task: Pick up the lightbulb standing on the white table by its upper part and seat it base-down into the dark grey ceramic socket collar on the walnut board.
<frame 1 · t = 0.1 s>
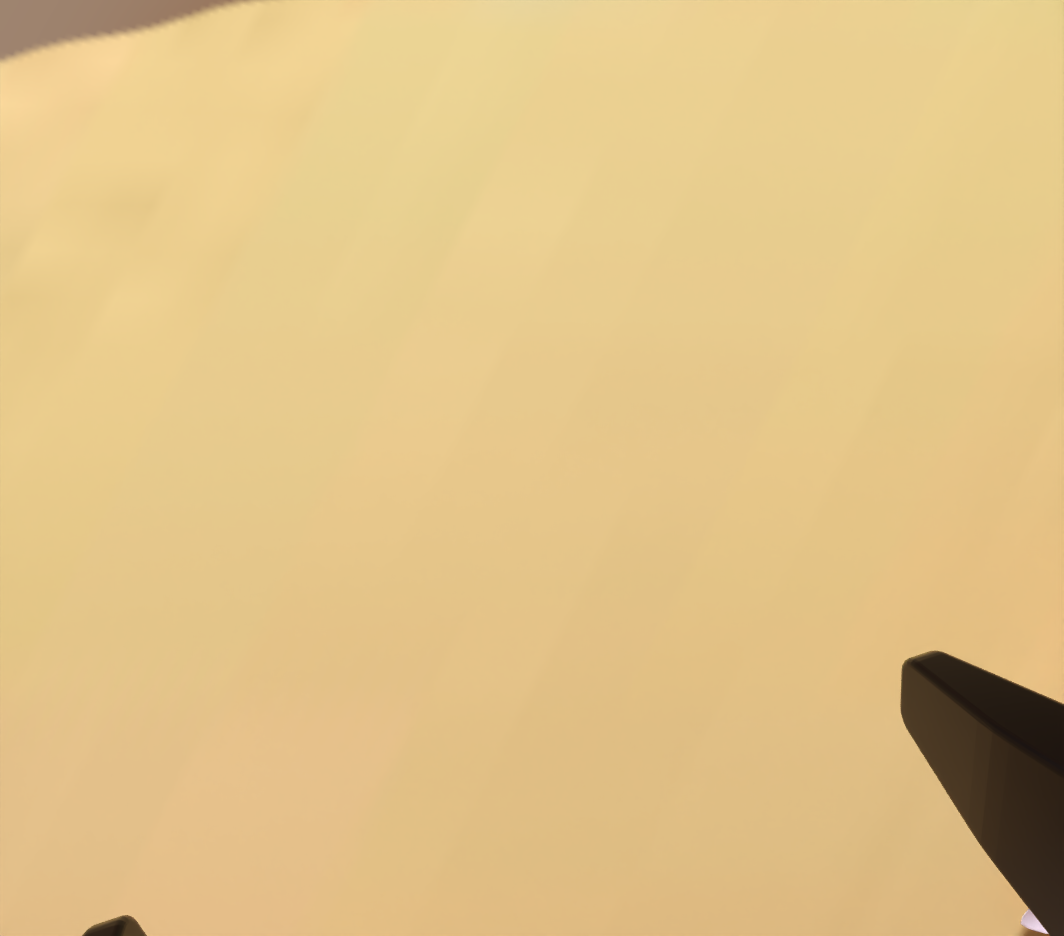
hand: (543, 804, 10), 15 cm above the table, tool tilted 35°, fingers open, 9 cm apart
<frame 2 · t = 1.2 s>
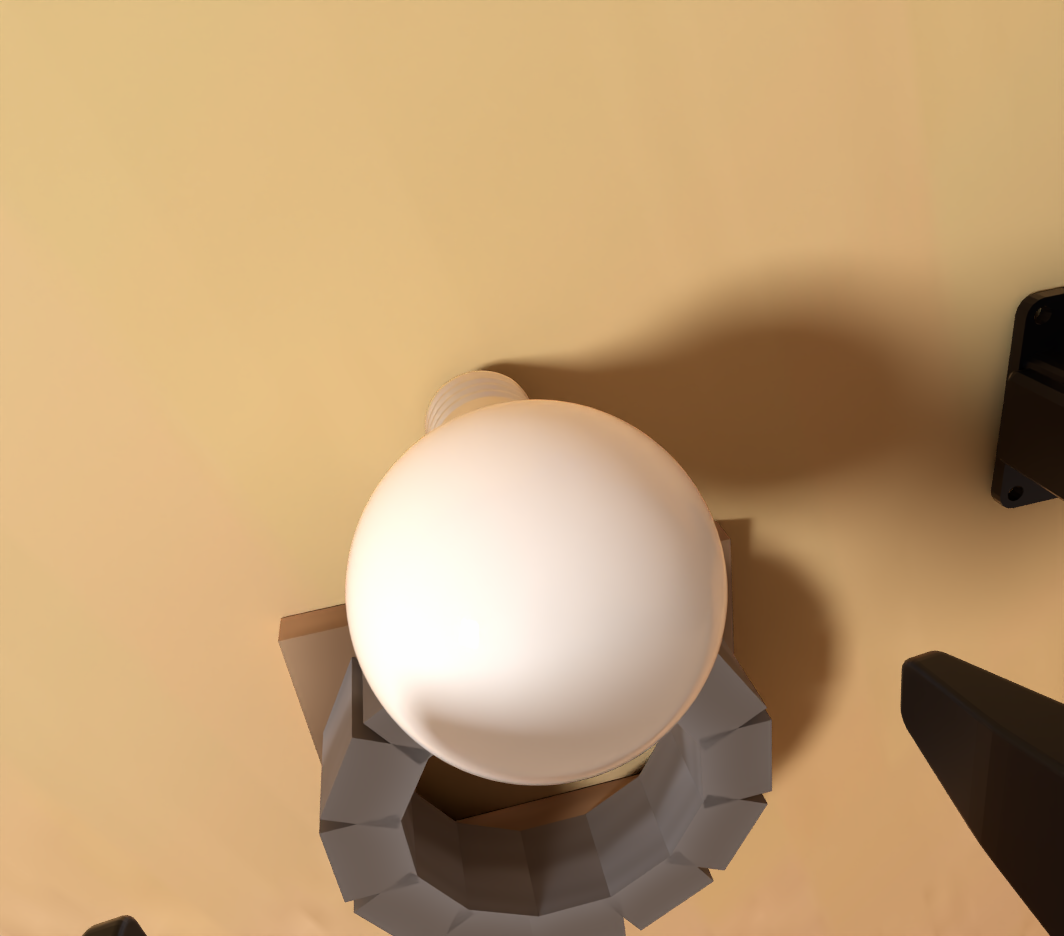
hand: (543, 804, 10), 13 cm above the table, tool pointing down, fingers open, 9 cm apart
socket: (530, 707, 26), on the table
lightbulb: (475, 408, 21), on the table
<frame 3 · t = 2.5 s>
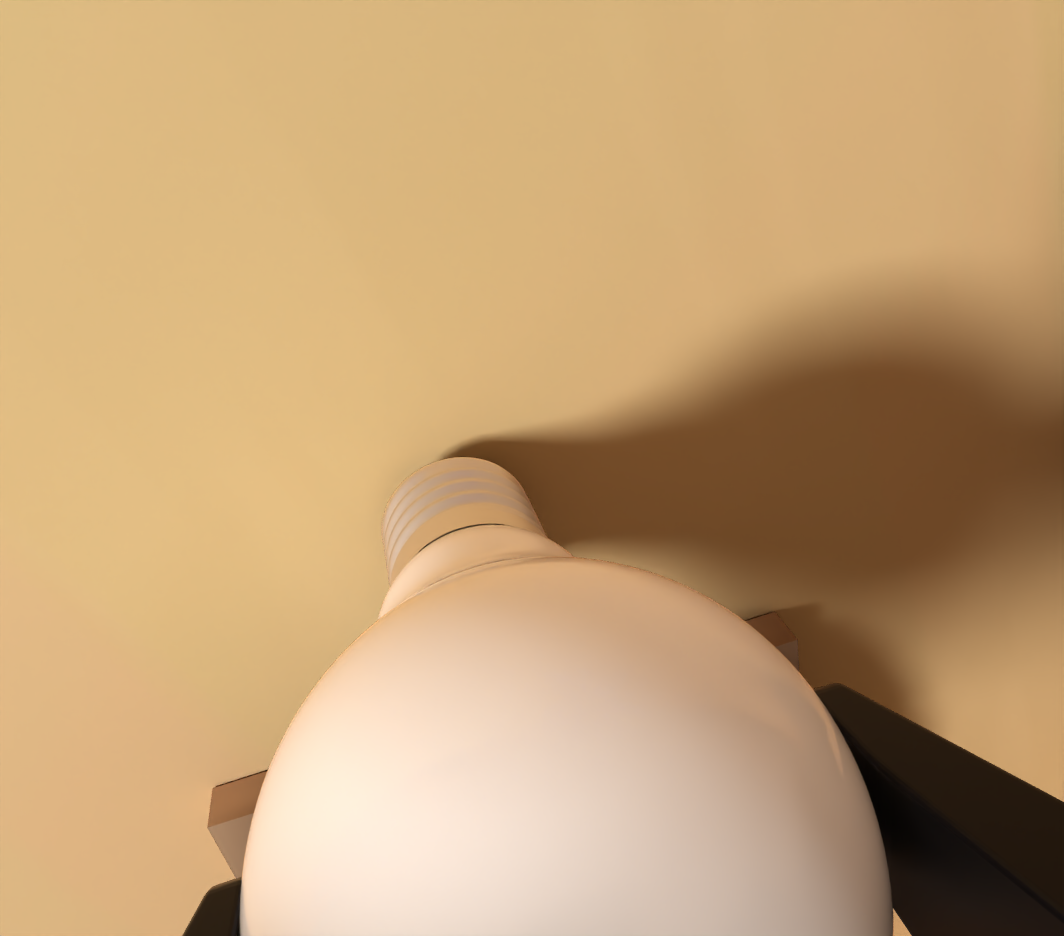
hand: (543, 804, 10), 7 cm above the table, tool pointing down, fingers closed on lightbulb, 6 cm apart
socket: (548, 853, 20), on the table
lightbulb: (450, 501, 16), on the table, touching gripper
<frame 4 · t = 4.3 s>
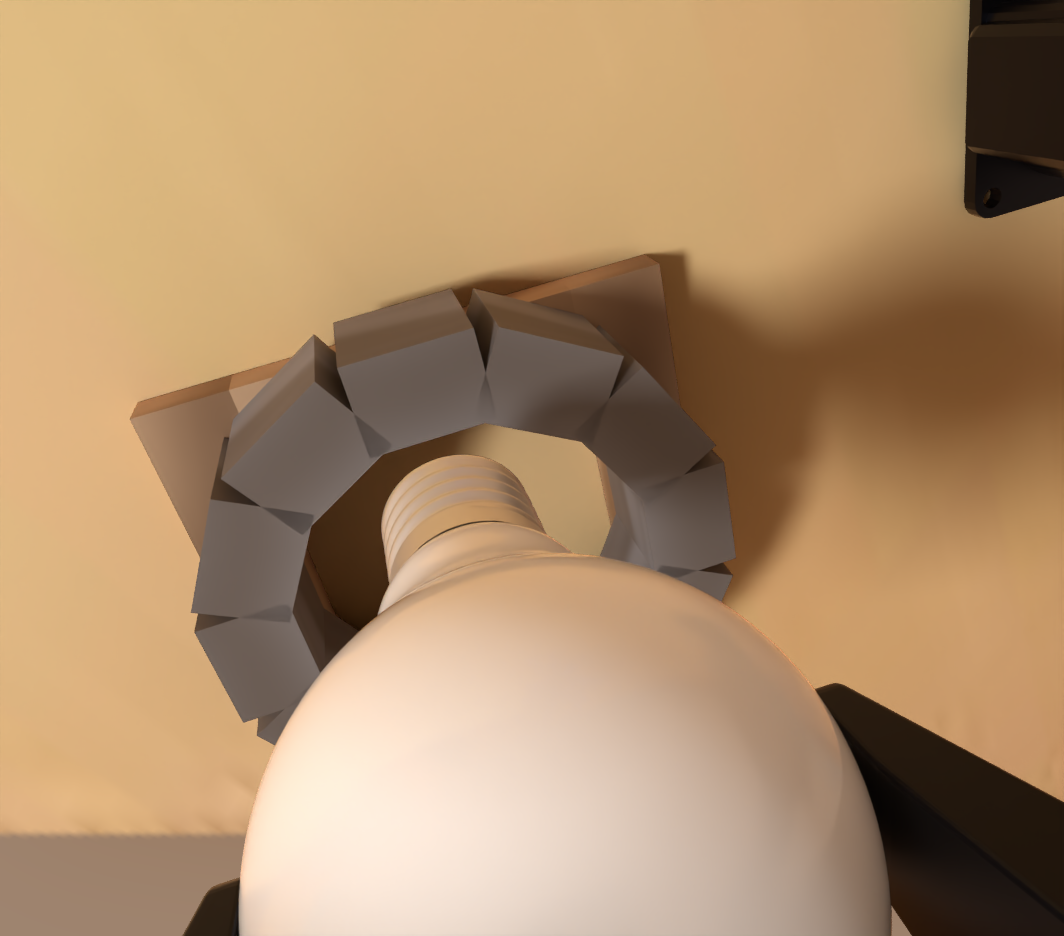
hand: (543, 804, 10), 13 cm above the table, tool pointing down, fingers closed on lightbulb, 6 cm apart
socket: (456, 507, 22), on the table
lightbulb: (450, 499, 16), point 6 cm above the table, touching gripper
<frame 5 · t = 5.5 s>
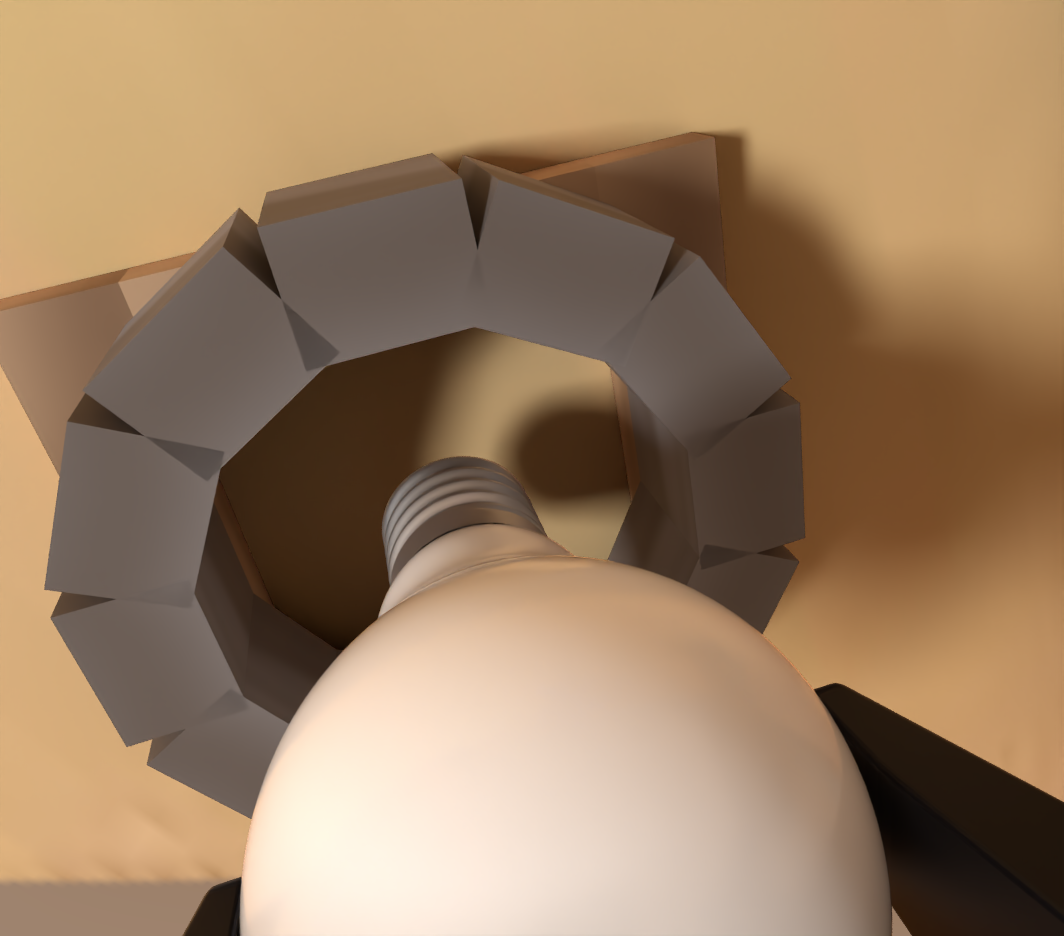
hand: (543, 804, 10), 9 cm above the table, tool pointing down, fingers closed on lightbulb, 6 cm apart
socket: (433, 467, 17), on the table
lightbulb: (451, 501, 16), point 2 cm above the table, touching gripper
when the fingers open (8 cm above the table, at t = 6.1 s): lightbulb drops 1 cm, resting in socket.
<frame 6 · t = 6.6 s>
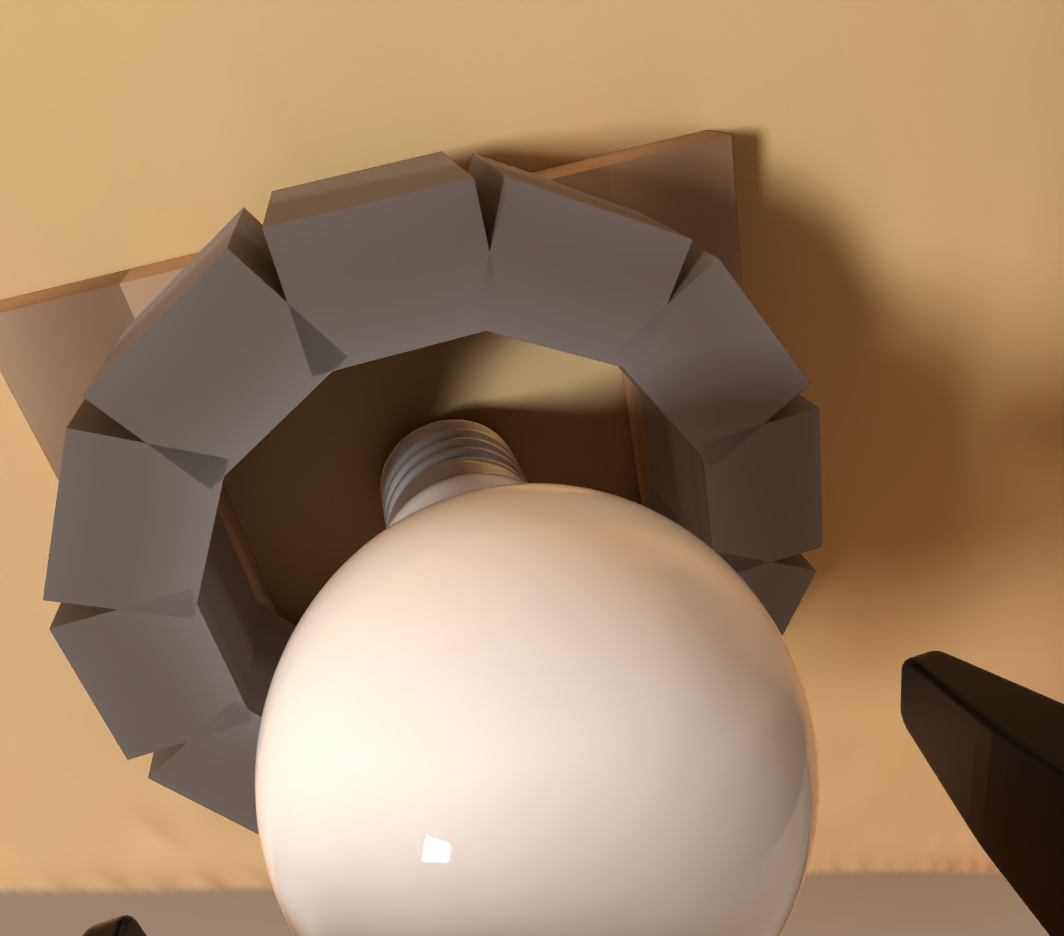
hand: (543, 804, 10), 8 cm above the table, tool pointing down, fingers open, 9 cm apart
socket: (440, 472, 17), on the table
lightbulb: (444, 464, 17), resting in socket
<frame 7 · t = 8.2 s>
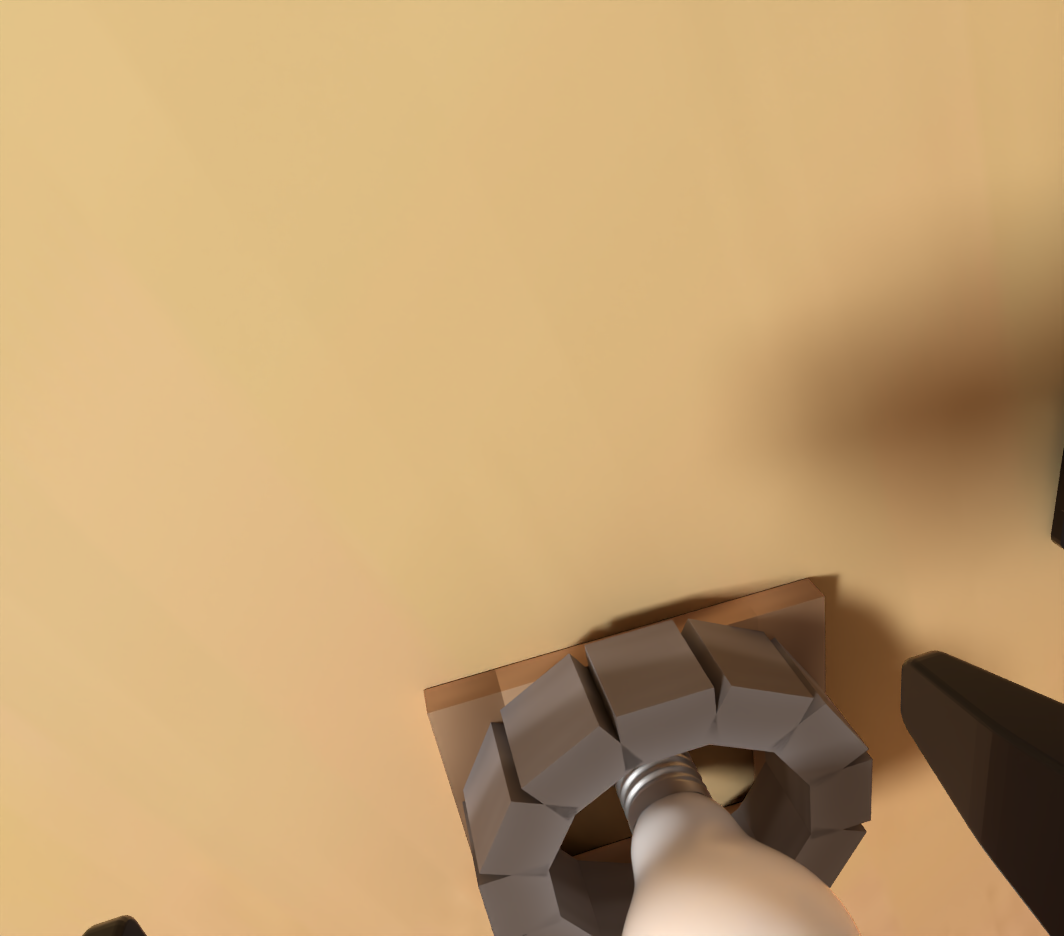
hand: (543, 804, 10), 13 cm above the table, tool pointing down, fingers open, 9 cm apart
socket: (639, 752, 28), on the table
lightbulb: (641, 745, 28), resting in socket
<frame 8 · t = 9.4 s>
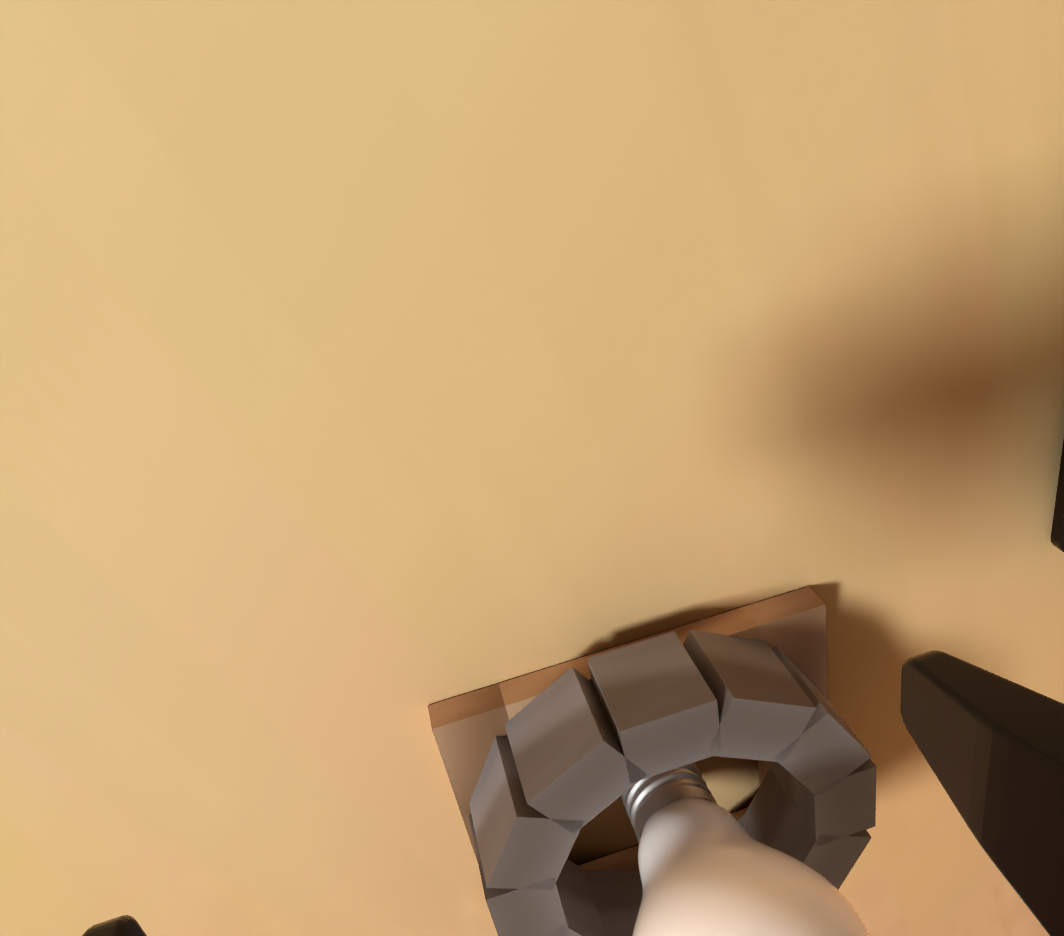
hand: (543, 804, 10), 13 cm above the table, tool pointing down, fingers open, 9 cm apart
socket: (644, 761, 28), on the table
lightbulb: (645, 754, 29), resting in socket
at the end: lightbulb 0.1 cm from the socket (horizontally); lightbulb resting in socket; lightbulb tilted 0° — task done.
